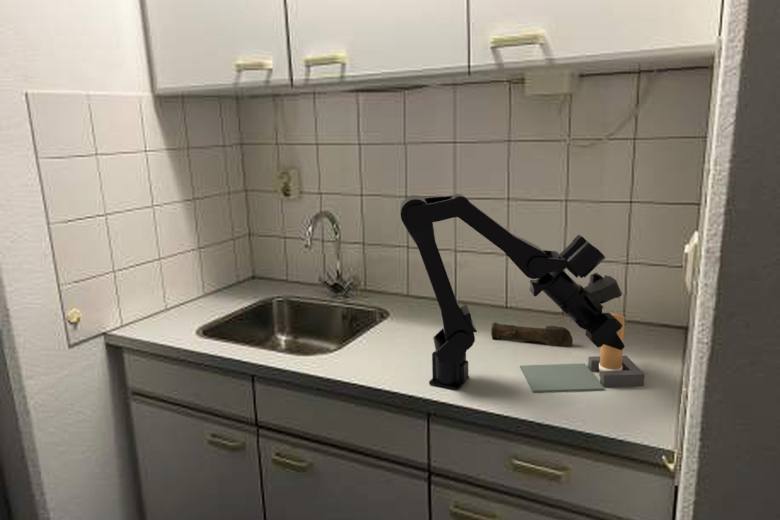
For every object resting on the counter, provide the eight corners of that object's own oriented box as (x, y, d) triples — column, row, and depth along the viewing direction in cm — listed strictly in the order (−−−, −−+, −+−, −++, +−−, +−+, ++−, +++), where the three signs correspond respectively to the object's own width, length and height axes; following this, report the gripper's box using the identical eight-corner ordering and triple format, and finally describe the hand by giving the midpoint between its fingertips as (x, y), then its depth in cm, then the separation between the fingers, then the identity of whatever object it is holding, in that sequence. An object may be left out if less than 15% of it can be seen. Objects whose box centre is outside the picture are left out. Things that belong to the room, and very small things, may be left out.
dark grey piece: (603, 387, 118) (604, 375, 117) (588, 367, 127) (588, 356, 127) (643, 385, 118) (644, 374, 117) (625, 366, 127) (626, 355, 127)
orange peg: (602, 381, 120) (606, 320, 117) (595, 372, 125) (598, 313, 122) (625, 380, 120) (629, 320, 117) (616, 371, 125) (620, 312, 122)
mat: (532, 392, 117) (532, 390, 117) (519, 367, 129) (519, 365, 128) (604, 390, 117) (604, 388, 117) (584, 365, 128) (584, 363, 128)
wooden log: (489, 340, 145) (489, 322, 144) (494, 335, 148) (494, 317, 147) (569, 351, 137) (570, 332, 135) (572, 345, 140) (573, 327, 139)
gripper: (614, 277, 108) (670, 333, 110) (581, 254, 126) (630, 302, 129) (568, 320, 110) (625, 373, 112) (543, 291, 128) (592, 337, 131)
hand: (618, 343), depth 121 cm, fingers closed on orange peg, 4 cm apart
